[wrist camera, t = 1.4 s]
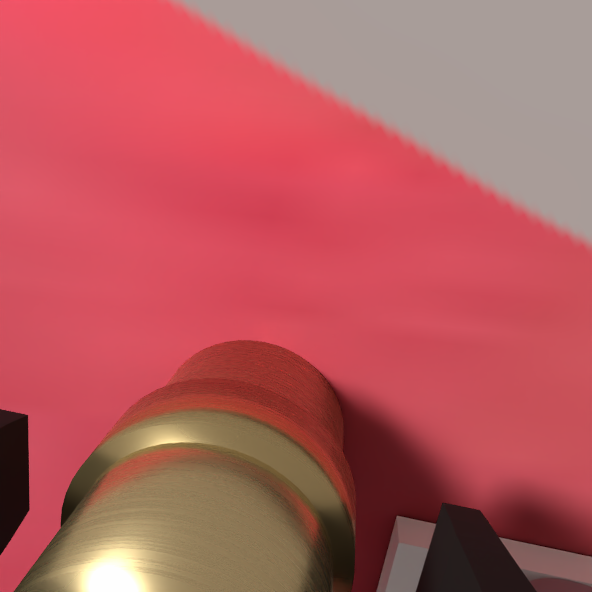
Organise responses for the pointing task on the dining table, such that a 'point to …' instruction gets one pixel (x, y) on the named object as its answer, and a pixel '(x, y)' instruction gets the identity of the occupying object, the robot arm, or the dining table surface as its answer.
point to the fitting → (530, 558)
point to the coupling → (213, 486)
